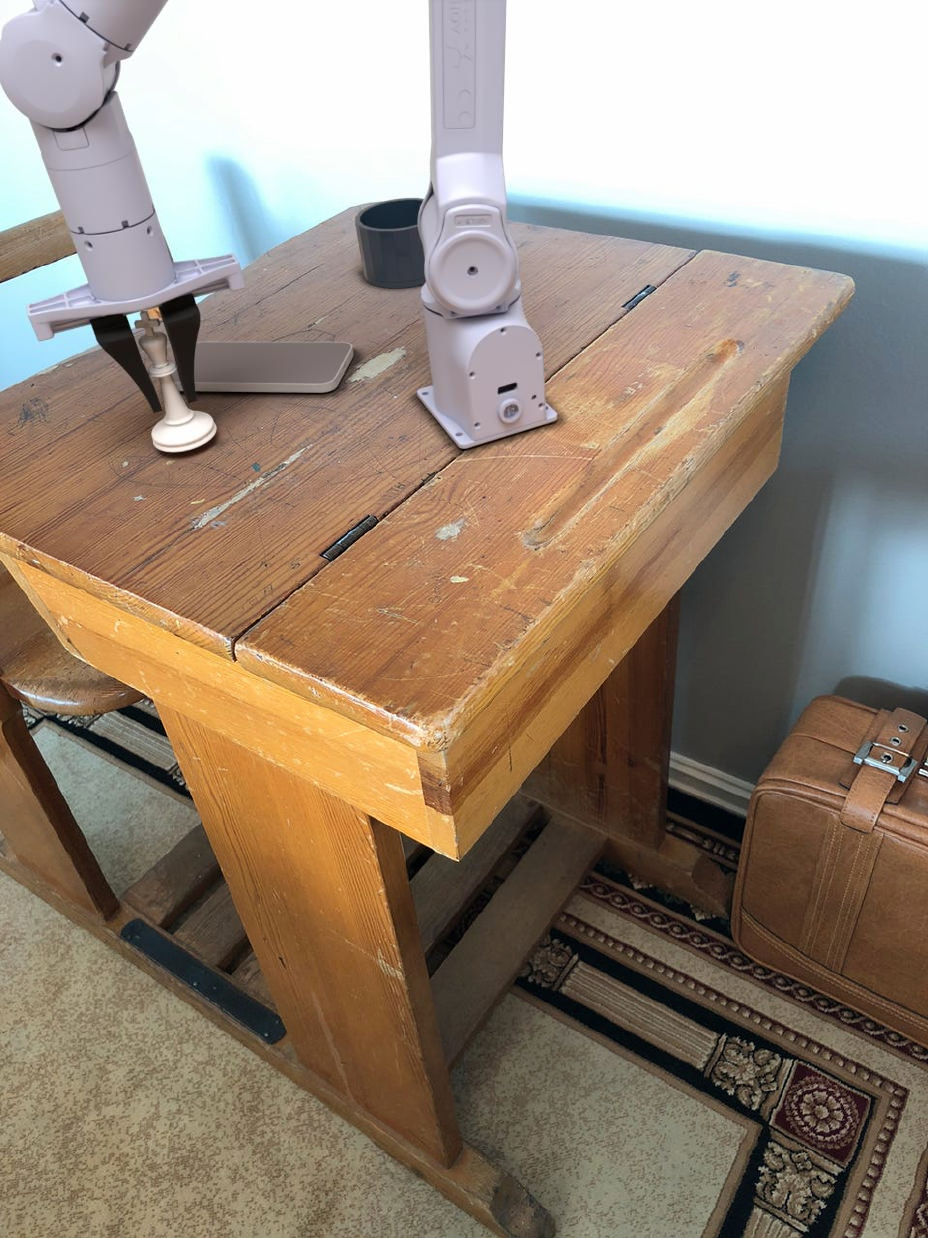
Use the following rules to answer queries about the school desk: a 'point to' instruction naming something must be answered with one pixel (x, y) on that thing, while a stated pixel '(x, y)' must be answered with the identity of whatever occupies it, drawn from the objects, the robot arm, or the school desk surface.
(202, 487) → the school desk surface
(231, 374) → the smartphone
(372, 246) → the pen holder
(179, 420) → the chess piece
